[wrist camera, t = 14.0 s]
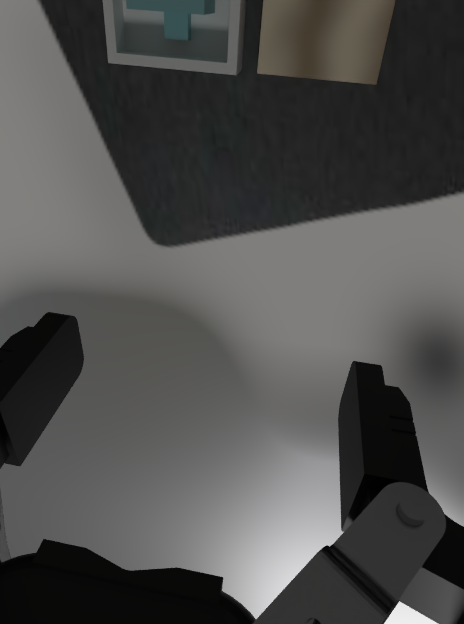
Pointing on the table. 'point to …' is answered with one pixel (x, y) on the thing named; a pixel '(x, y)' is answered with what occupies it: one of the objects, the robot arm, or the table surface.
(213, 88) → the table surface
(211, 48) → the tray
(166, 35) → the teal hollow block
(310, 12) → the peg board
